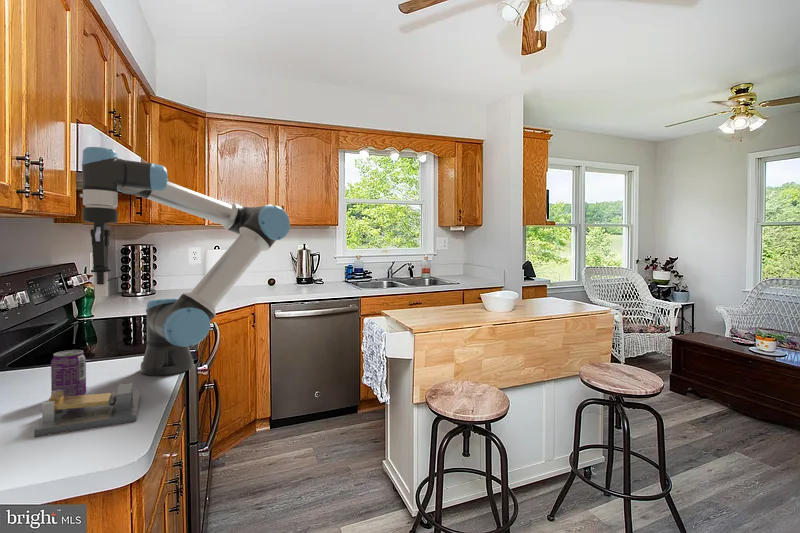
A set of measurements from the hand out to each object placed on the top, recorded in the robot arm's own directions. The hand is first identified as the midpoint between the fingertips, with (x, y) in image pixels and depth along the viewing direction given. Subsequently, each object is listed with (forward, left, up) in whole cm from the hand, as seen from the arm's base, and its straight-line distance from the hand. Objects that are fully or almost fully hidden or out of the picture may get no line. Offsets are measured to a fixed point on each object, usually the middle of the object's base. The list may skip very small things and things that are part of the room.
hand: (101, 296), depth 112 cm
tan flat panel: (+12, +10, -24) cm, 28 cm away
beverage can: (+5, -5, -27) cm, 28 cm away
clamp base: (+11, +11, -26) cm, 31 cm away
